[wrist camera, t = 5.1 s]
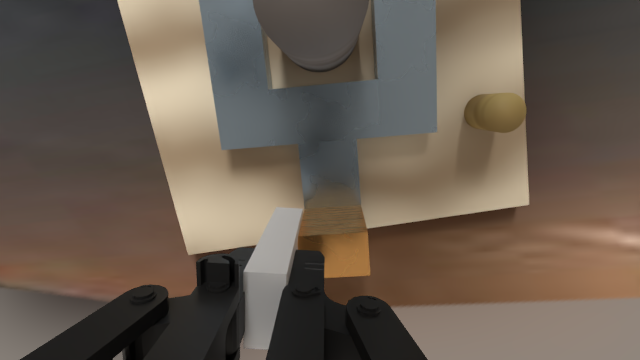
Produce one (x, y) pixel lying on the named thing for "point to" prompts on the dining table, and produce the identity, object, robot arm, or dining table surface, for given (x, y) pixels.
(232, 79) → the flange plate
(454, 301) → the dining table surface
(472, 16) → the post board
